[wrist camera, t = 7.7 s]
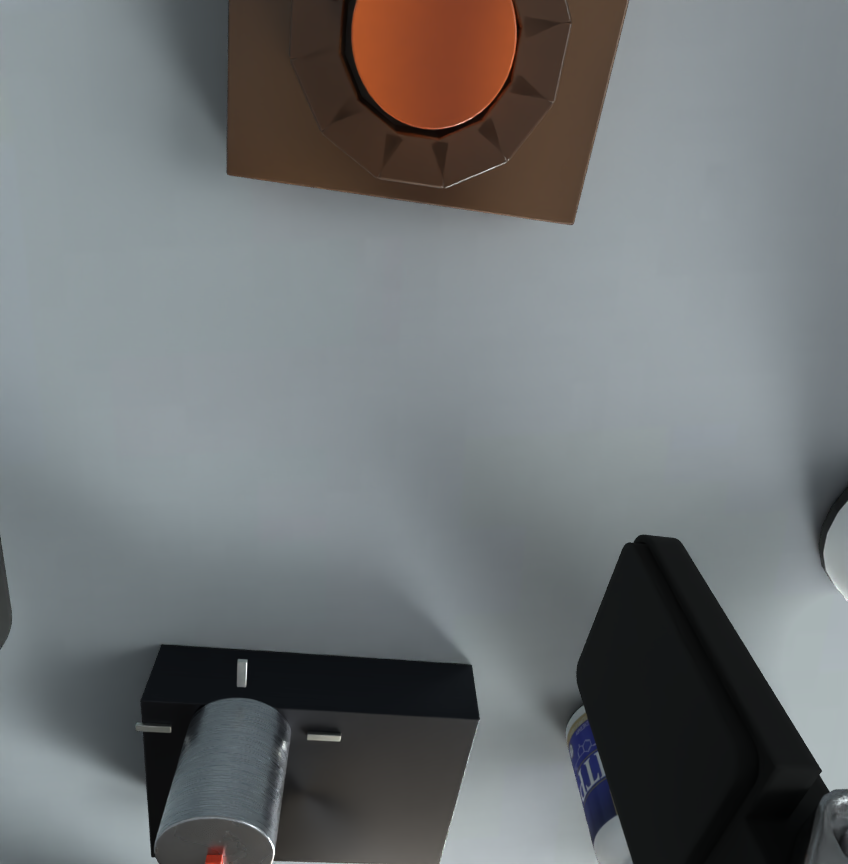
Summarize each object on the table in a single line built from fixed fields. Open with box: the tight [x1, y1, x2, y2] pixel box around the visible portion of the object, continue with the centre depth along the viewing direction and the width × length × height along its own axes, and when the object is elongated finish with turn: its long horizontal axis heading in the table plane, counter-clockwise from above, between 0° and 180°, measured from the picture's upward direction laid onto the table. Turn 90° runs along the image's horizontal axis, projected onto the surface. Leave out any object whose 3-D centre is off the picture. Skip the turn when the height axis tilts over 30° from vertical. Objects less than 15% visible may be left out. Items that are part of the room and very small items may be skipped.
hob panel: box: [135, 645, 480, 864], centre depth 31 cm, size 14×14×3 cm
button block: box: [227, 0, 629, 225], centre depth 18 cm, size 10×8×4 cm
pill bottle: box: [566, 705, 633, 864], centre depth 30 cm, size 5×5×9 cm
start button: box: [351, 0, 517, 129], centre depth 16 cm, size 4×4×2 cm
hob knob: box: [154, 698, 291, 864], centre depth 26 cm, size 4×4×5 cm
